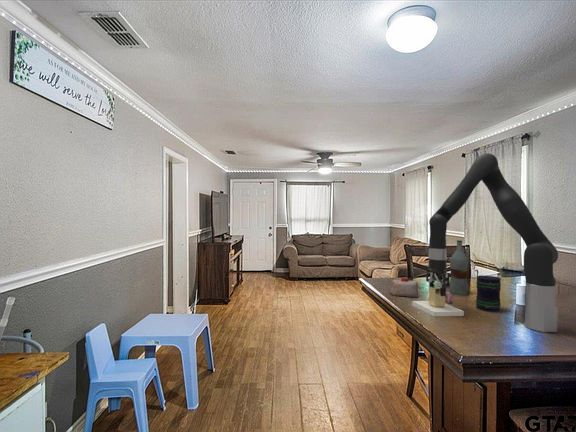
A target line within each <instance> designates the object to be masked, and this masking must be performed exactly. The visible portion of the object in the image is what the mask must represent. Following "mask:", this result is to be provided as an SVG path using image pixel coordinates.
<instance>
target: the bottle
mask: <svg viewBox="0 0 576 432" xmlns="http://www.w3.org/2000/svg"><path fill="white" fill-rule="evenodd" d="M449 260H450V261H449V268H450V269H449V270H450V278H449V283H450V286H449V292H450V293H451V294H452V295H456V296H467V295H468V289H469V285H468V270H469V260H468V257H467V255H466V254H465V252H464V251H463V240H459V239H458V240H456V250H455V251H454V252H453V254H452V255H451V256H450V259H449Z"/></svg>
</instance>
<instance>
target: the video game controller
mask: <svg viewBox="0 0 576 432" xmlns="http://www.w3.org/2000/svg"><path fill="white" fill-rule="evenodd" d="M452 298H453V294H452V293H451V292H450V291H447V290H446V296H445V303H446V304H448V305H450V304H451V302H452Z"/></svg>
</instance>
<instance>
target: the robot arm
mask: <svg viewBox="0 0 576 432" xmlns="http://www.w3.org/2000/svg"><path fill="white" fill-rule="evenodd" d="M481 181H482V183H483V184H484V185H485V187H486V188H487V190H488V191H489V193H490V195H491V197H492V200H493V202H494V204H495V206H496V208H497V210H498V211H499V213H500V214H501V216H502V218H503V219H504V221H506V223H507V224H508V225H509V226H510V227H511V228H512V229H513V230H514V231H515V232H516V233H517V234H518V235H519V236H520V237H521V239H522V241H523V242H524V244H525V245H526V248H525V249H524V253H523V275H524V277H525V302H524V304H525V305H524V306H525V307H524V308H525V309H524V326H525V327H526V328H527V329H530V330H533V331H537V332H541V333H557V332H558V319H559V318H558V313H559V312H558V311H559V309H558V306H556V282H557V281H556V278H555V277H554V264H555V263H556V262H558V259H559V252H558V250H557V248H556V246H555V245H553V243H552V242H551V241H550V239H549V238H548V237H547V235H545V233H544V232H543V231H542V229H541V228H540V227H539V225H538V223H537V220H535V217H534V216H533V214H532V213H531V211H530V209H529V208H528V206H527V205H526V203H525V201H524V200H523V198H522V197H521V196H520V195H519V193H518V192H517V191H516V190H515V189H514V188H513V187H512V186H511V185H510V184H509V183H508V182H507V181H506V179H505V177H504V175H503V173H502V172H501V169H500V167H499V162H498V159H497V157H496V155H494V154H492V153H489V152H487V153H486V152H485V153H483V154H480V155H478V156H477V157H476V158H475V159H474V161H473V163H472V165H471V166H470V168H469V169H468V171H467V172H466V174H465V175H464V177H463V179H462V180H461V181H460V183H458V185H457V186H456V187H455V188H454V190H453V191H452V193H451V194H450V195H449V196H448V197H447V198H446V199H445V201H444V202H443V203H442V204H441V206H440V207H439V209H437V210H436V212H435V213H433V215H432V216H431V217H430V219H429V221H428V222H429V240H428V241H429V243H428V244H429V245H428V268H427V269H426V273H425V277H426V278H425V280H426V281H425V282H426V283H427V282H428V287H429V286H435V283H436V282H437V284H439V287H441V288H440V296H446V291H447V288H450V273H449V272H445V270H447V263H448V261H447V257H448V256H447V255H448V254H447V237H446V236H447V227H448V222H449V221H450V220H451V219H452V217H453V216H455V215H457V213H458V212H459V211H460V210H461V209H462V207H463V206H464V205H465V204H466V202H468V200H469V198H470V196H471V195H472V194H473V191H474V189H476V187H477V186H478V185H479V184H480V182H481Z"/></svg>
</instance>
